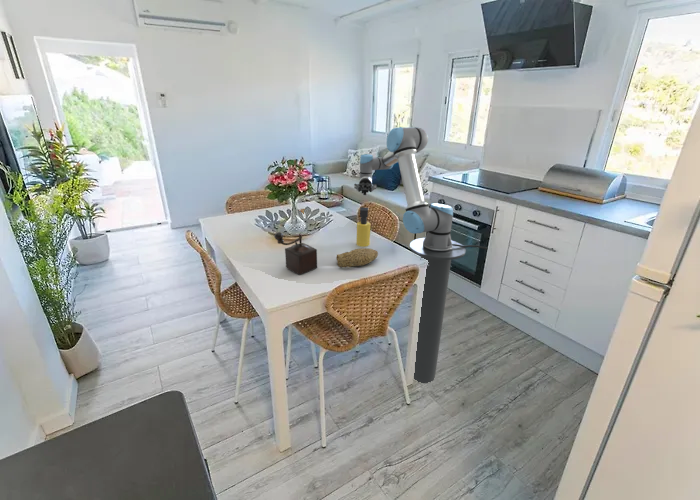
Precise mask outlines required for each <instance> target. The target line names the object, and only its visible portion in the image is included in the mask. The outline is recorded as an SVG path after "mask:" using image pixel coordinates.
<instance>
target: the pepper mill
mask: <svg viewBox="0 0 700 500" xmlns="http://www.w3.org/2000/svg"><path fill="white" fill-rule="evenodd" d="M273 237H274V239H275V240H276V241H277V244H279V245H283V246H289V245H291V246H289V247H285V248H284V254H285V268H286V269H288V270H289V271H291V273H294V274H297V275H299V276H300V275H304V274H306V273H309V272H311V271H313V270H315V269H318V250H317V248H315V247H313V246H311V245H309V244H306V243H304V242H302V238H303V234H302V233H299V234H298V238H296V239H294V240H293V241H290V242H285V241H284V239H283V238H284V233H283V232H281V231H279V232H278V231H277V232H276V233H275V234H274V236H273ZM298 242H299V243H298Z"/></svg>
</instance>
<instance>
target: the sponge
mask: <svg viewBox="0 0 700 500" xmlns="http://www.w3.org/2000/svg"><path fill="white" fill-rule="evenodd" d="M378 257H379V251H378V250H376V249H373V248H371V247H369V248H368V247H365V248H364V247H362V248H355V249H352V250H350V251H346V252H342V253H338V254H336V257H335V258H336V263H337V267H338V268H340V269H341V268H351V267H359V266H360V267H361V266H365V265H368V264H370V263H372V262H374V261H375V260H376V259H377V258H378Z"/></svg>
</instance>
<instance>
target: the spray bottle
mask: <svg viewBox="0 0 700 500" xmlns="http://www.w3.org/2000/svg"><path fill="white" fill-rule="evenodd" d="M359 217H360V221H358V222H356V240H355V241H356V242H355V243H356V246H357V247H362V248H364V247H365V248H367V247H368V246H370V244H371V223H370V222H369V221H368V217H369V207H360V208H359Z"/></svg>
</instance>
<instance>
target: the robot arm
mask: <svg viewBox="0 0 700 500" xmlns="http://www.w3.org/2000/svg"><path fill="white" fill-rule="evenodd" d="M428 142H429V136H428V133H427V132H426V130H424V128H422V127H419V126H418V127H417V126H413V127H403V126H399V127H393V128H392V129H391V130H389V132H388V134H387V137H386V148H387V150H388V151H389V152H387V153H386V154H384V155H383V156H381V157H380V156H378V157H377V156H376V157H374V156H373V154H371V153H367V154H365V153H364V154H361V155H360V159H359V182H358V183H354V185H353V187H354V189H355V190H356V191H357V192H360V193H361V194H363V195H362V196H367V193H368V194H369V192H370V193H373V192H374V190H377V184H376V183H375V184H373V171H380V170H381V171H382V170H391V169H392V168H393V167H394V165H395V164H397V163H398V168H399V171H400V176H401V180H402V181H401V182H402V185H403V191H404V195H405V199H406V204H407V206H406V207H405V212H404V213H403V216H402V223H403V226H404V228H405V230H406V231H408V232H409V233H410V234H422V233H426V235H425V237H424V238H425V239H424V240H423V241H424V242H423V247H424V248H426V249H427V250H430V251H435V252H447V251H450V250H451V249H452V246H458V247H465V248H479V249H483V250H488V247H486V246H482V245H475V244H468V245H463V244H461V245H457V244H452V241H453V240H452V235H451V231H452V226H453V225H452V223H453V218H454V208H453V207H452V206H450V205H446V204H443V203H434V202H433V203H430V206H429V203H428V202H426V201H425V196H424V192H423V187H422V184H421V183H422V182H421V178H420V174H419V169H418V165H417V160H416V156H415V155H416V154H418V153H420V152H421V151H422V150H424V149H425V148H426V147H427V145H428ZM451 240H452V241H451Z"/></svg>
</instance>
